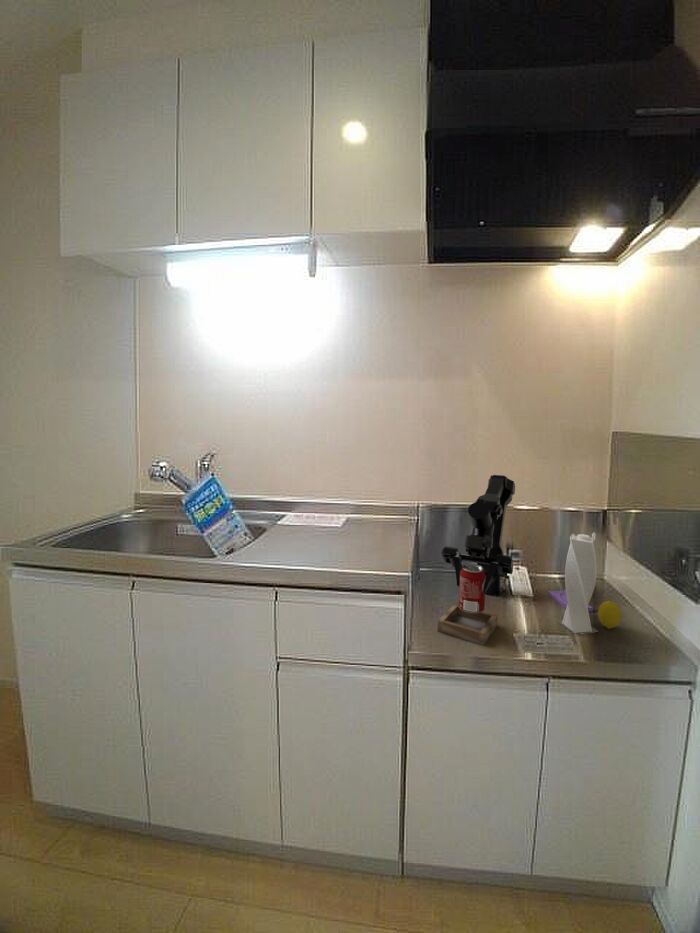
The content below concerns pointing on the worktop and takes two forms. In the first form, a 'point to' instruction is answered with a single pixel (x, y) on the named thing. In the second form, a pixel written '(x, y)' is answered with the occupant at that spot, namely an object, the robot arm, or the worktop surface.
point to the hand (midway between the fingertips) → (471, 588)
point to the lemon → (609, 614)
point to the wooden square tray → (467, 624)
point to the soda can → (472, 589)
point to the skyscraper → (579, 583)
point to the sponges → (563, 598)
